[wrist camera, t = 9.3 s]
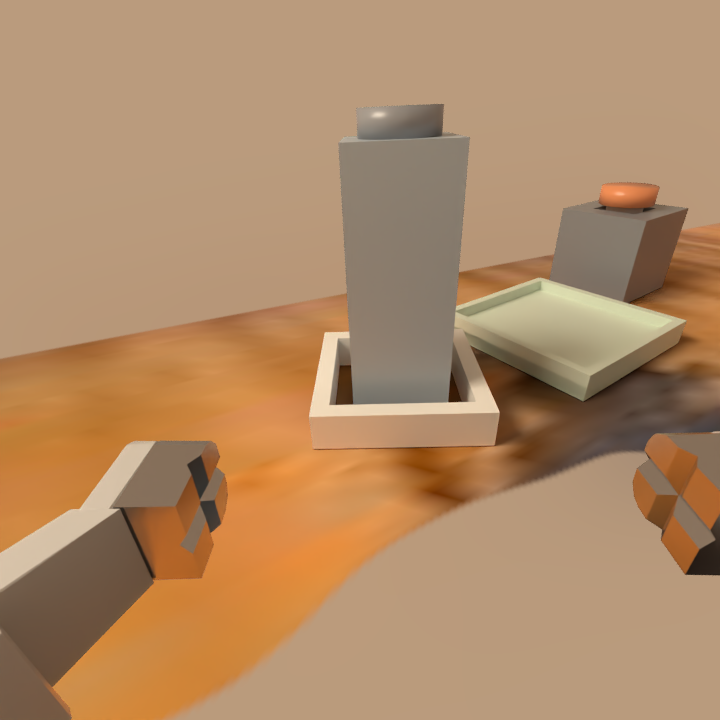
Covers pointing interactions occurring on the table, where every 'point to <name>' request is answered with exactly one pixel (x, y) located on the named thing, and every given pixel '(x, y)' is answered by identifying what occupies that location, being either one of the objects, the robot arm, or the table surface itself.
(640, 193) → the button
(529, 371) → the tray
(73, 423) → the table surface
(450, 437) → the socket collar
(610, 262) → the button post
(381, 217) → the cartridge
